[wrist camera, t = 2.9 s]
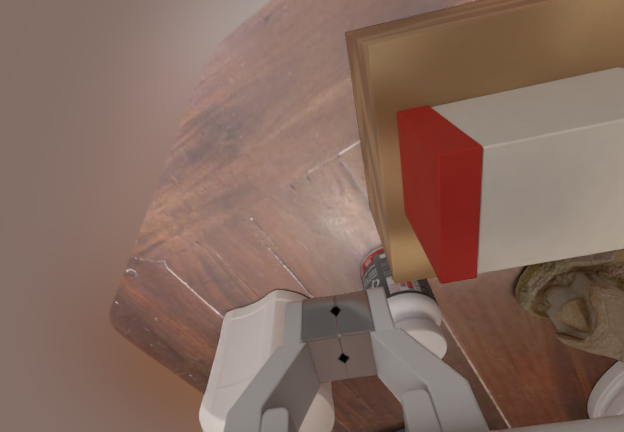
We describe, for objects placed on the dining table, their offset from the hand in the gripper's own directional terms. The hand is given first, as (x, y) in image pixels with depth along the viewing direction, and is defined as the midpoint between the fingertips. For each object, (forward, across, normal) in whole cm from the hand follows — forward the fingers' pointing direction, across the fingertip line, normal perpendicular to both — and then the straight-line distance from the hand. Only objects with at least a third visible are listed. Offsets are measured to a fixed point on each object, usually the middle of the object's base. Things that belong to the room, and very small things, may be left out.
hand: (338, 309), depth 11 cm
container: (+9, -9, 0) cm, 13 cm away
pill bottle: (+19, -4, +15) cm, 25 cm away
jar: (+19, +9, +21) cm, 30 cm away
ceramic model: (+19, -23, +22) cm, 37 cm away
